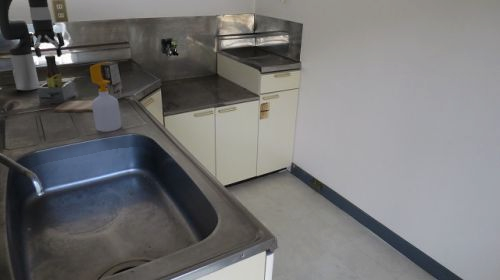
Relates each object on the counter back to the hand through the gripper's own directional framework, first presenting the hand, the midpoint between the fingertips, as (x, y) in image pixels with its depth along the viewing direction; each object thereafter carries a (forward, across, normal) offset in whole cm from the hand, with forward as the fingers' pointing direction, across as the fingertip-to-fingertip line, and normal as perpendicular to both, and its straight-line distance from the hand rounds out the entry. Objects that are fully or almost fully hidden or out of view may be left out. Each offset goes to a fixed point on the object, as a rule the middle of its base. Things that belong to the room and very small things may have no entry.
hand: (49, 56), depth 168 cm
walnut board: (+20, -14, +12) cm, 27 cm away
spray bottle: (+20, -34, +37) cm, 54 cm away
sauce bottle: (+20, 0, 0) cm, 20 cm away
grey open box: (+19, 0, +2) cm, 19 cm away
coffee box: (+20, -24, -2) cm, 31 cm away
